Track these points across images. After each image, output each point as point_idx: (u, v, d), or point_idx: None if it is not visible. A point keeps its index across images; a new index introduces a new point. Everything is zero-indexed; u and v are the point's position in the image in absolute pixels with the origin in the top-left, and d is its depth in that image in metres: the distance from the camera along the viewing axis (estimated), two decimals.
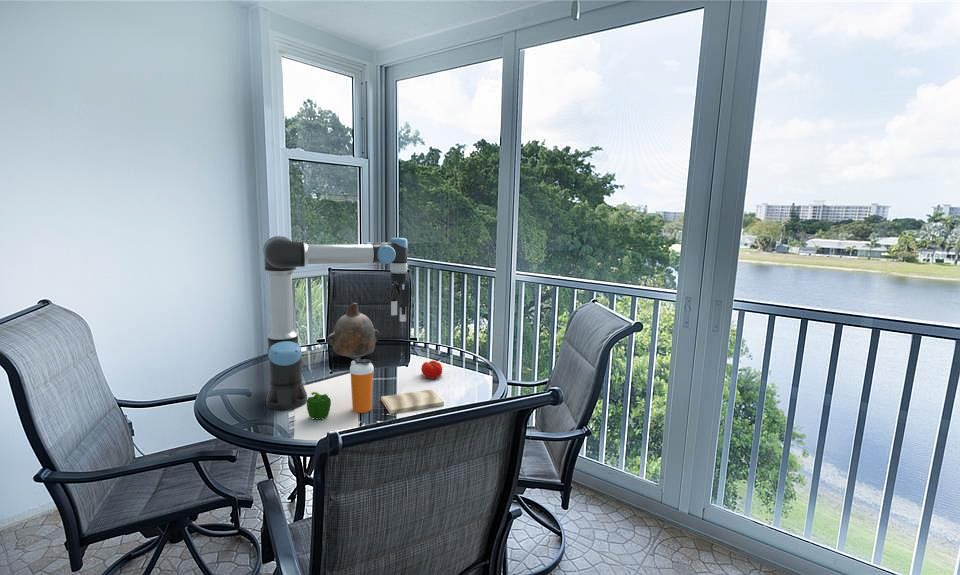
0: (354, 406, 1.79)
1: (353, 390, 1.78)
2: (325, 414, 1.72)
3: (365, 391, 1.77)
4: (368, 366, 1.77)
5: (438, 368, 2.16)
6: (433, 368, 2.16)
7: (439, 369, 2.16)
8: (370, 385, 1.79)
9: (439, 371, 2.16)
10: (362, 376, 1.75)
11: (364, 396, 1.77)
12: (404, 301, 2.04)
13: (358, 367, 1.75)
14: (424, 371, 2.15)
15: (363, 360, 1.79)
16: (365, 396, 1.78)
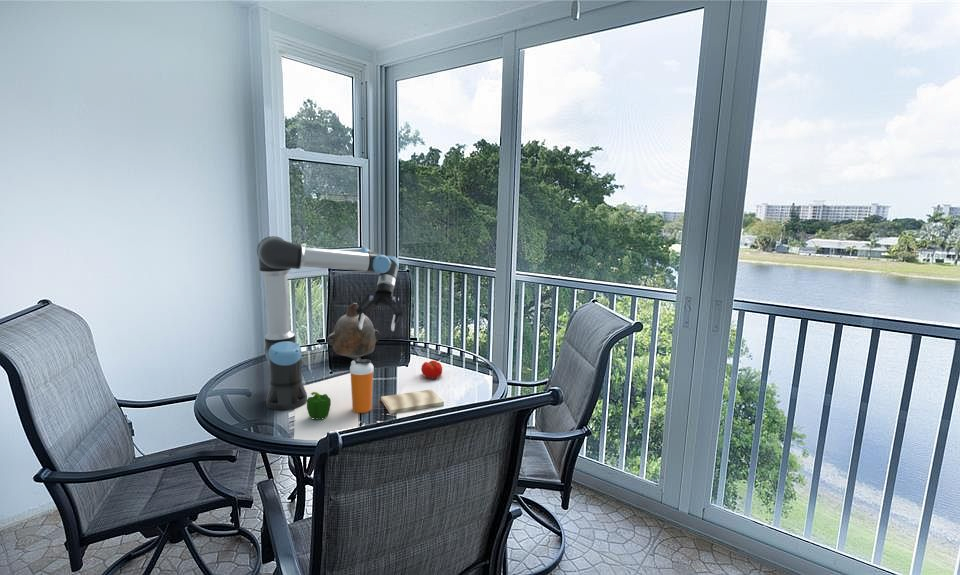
0: (354, 406, 1.79)
1: (353, 390, 1.78)
2: (325, 414, 1.72)
3: (365, 391, 1.77)
4: (368, 366, 1.77)
5: (438, 368, 2.16)
6: (433, 368, 2.16)
7: (439, 369, 2.16)
8: (370, 385, 1.79)
9: (439, 371, 2.16)
10: (362, 376, 1.75)
11: (364, 396, 1.77)
12: None
13: (358, 367, 1.75)
14: (424, 371, 2.15)
15: (363, 360, 1.79)
16: (365, 396, 1.78)
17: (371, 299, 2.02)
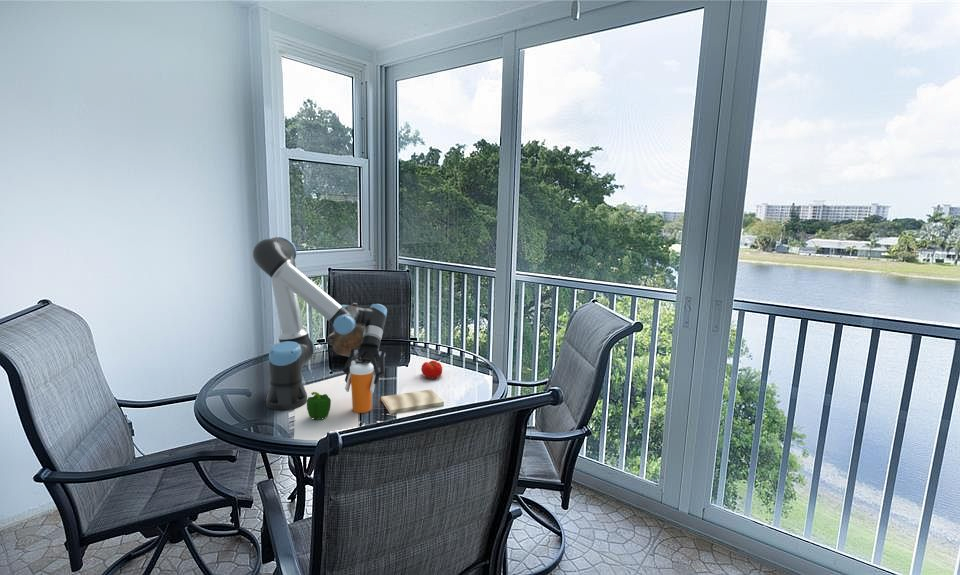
0: (354, 406, 1.79)
1: (353, 390, 1.78)
2: (325, 414, 1.72)
3: (365, 391, 1.77)
4: (368, 366, 1.77)
5: (438, 368, 2.16)
6: (433, 368, 2.16)
7: (439, 369, 2.16)
8: (370, 385, 1.79)
9: (439, 371, 2.16)
10: (362, 376, 1.75)
11: (364, 396, 1.77)
12: (384, 369, 1.82)
13: (358, 367, 1.75)
14: (424, 371, 2.15)
15: (363, 360, 1.79)
16: (365, 396, 1.78)
17: (356, 354, 1.87)
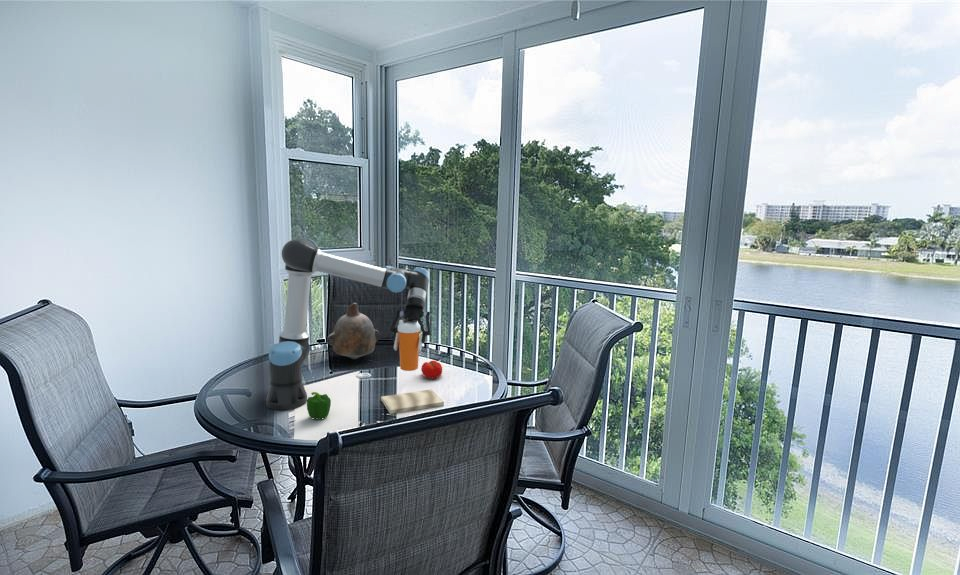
0: (402, 364, 1.83)
1: (401, 348, 1.82)
2: (325, 414, 1.72)
3: (413, 349, 1.82)
4: (416, 325, 1.81)
5: (438, 368, 2.16)
6: (433, 368, 2.16)
7: (439, 369, 2.16)
8: (417, 344, 1.83)
9: (439, 371, 2.16)
10: (410, 334, 1.80)
11: (412, 354, 1.82)
12: None
13: (406, 325, 1.80)
14: (424, 371, 2.15)
15: (410, 319, 1.83)
16: (413, 354, 1.82)
17: None
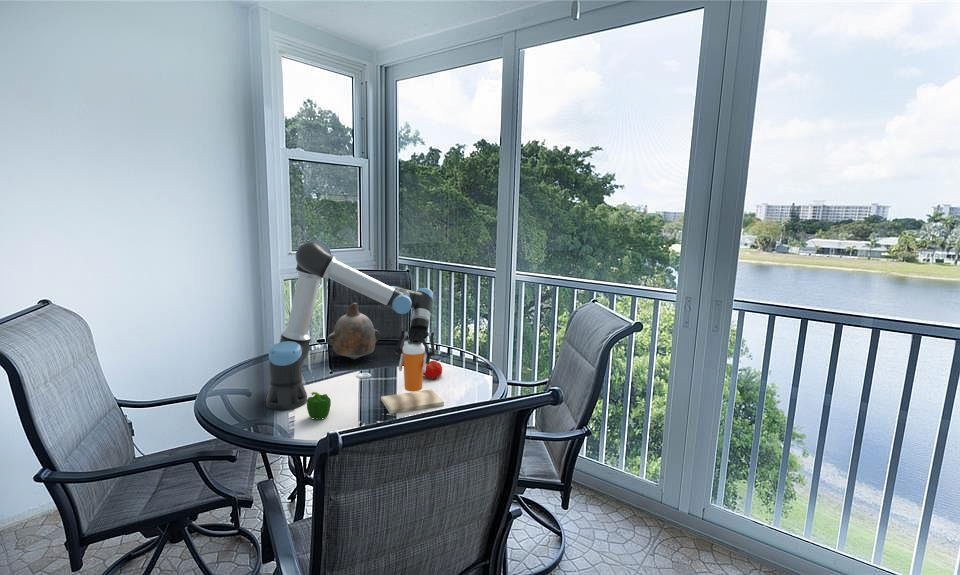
0: (407, 385, 1.86)
1: (406, 369, 1.84)
2: (325, 414, 1.72)
3: (418, 370, 1.84)
4: (420, 346, 1.84)
5: (438, 368, 2.16)
6: (433, 368, 2.16)
7: (439, 369, 2.16)
8: (422, 365, 1.86)
9: (439, 371, 2.16)
10: (415, 356, 1.82)
11: (416, 375, 1.84)
12: (434, 349, 1.89)
13: (411, 347, 1.82)
14: None
15: (415, 340, 1.86)
16: (417, 375, 1.85)
17: (406, 335, 1.94)
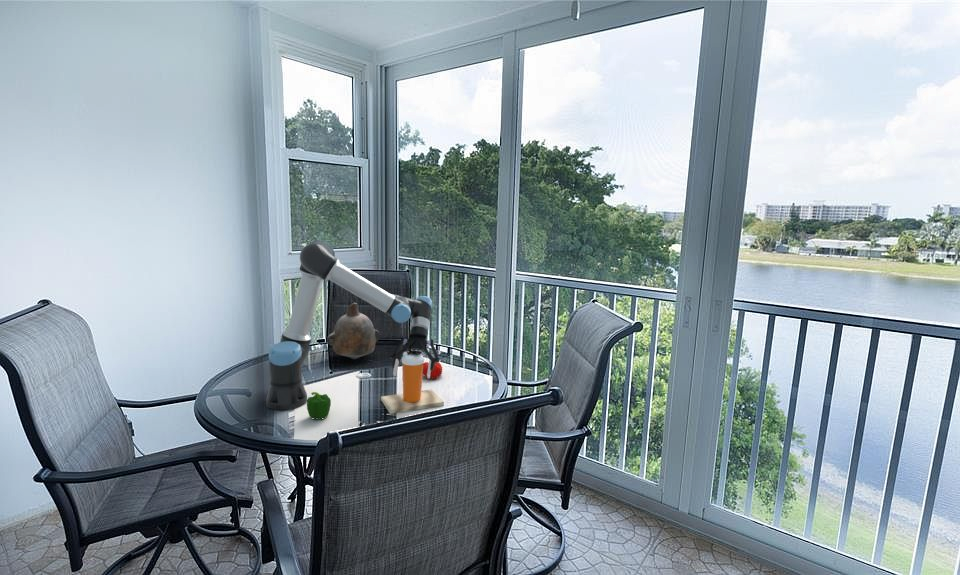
0: (405, 396, 1.86)
1: (405, 380, 1.85)
2: (325, 414, 1.72)
3: (417, 381, 1.85)
4: (419, 357, 1.85)
5: (438, 368, 2.16)
6: None
7: (439, 369, 2.16)
8: (421, 375, 1.86)
9: (439, 371, 2.16)
10: (414, 367, 1.83)
11: (415, 386, 1.85)
12: (437, 355, 1.90)
13: (410, 358, 1.83)
14: (424, 371, 2.15)
15: (414, 351, 1.87)
16: (416, 386, 1.85)
17: None
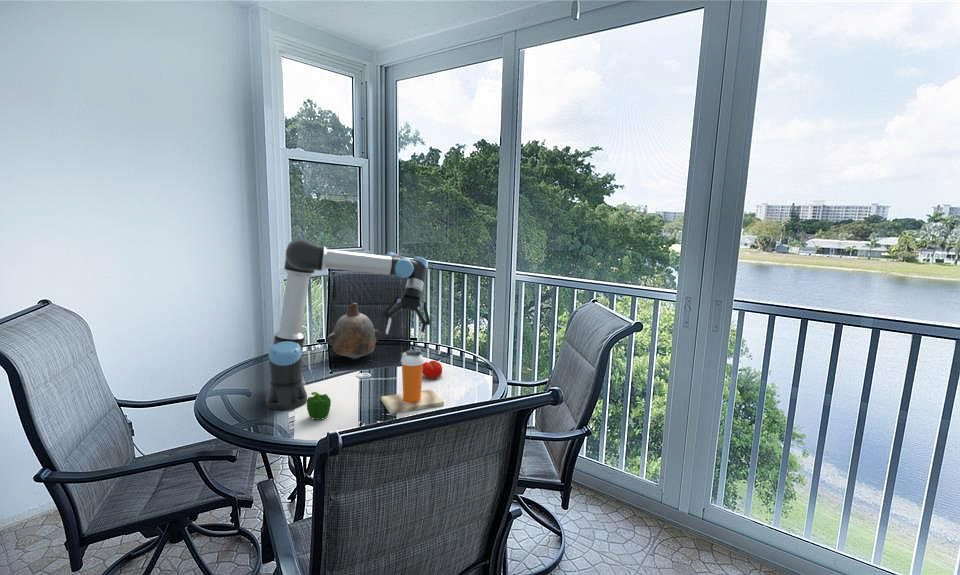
0: (405, 396, 1.86)
1: (404, 380, 1.85)
2: (325, 414, 1.72)
3: (416, 381, 1.85)
4: (419, 357, 1.85)
5: (438, 368, 2.16)
6: (433, 368, 2.16)
7: (439, 369, 2.16)
8: (420, 376, 1.86)
9: (439, 371, 2.16)
10: (413, 367, 1.83)
11: (415, 386, 1.85)
12: None
13: (410, 358, 1.83)
14: (424, 371, 2.15)
15: (414, 352, 1.86)
16: (416, 386, 1.85)
17: (398, 302, 2.01)
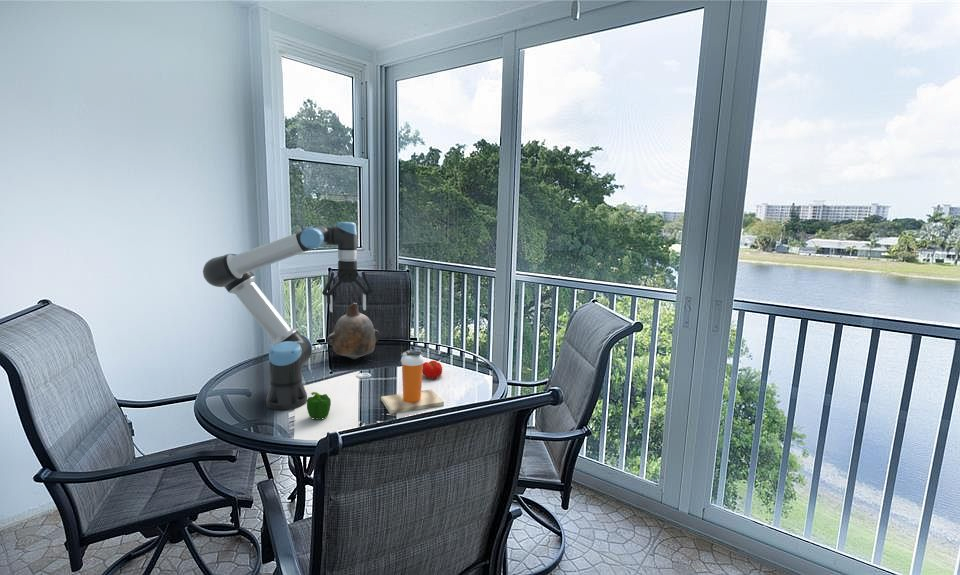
0: (405, 396, 1.86)
1: (404, 380, 1.85)
2: (325, 414, 1.72)
3: (416, 381, 1.85)
4: (419, 357, 1.85)
5: (438, 368, 2.16)
6: (433, 368, 2.16)
7: (439, 369, 2.16)
8: (420, 376, 1.86)
9: (439, 371, 2.16)
10: (413, 367, 1.83)
11: (415, 386, 1.85)
12: (370, 287, 1.98)
13: (410, 358, 1.83)
14: (424, 371, 2.15)
15: (414, 352, 1.86)
16: (416, 386, 1.85)
17: None
